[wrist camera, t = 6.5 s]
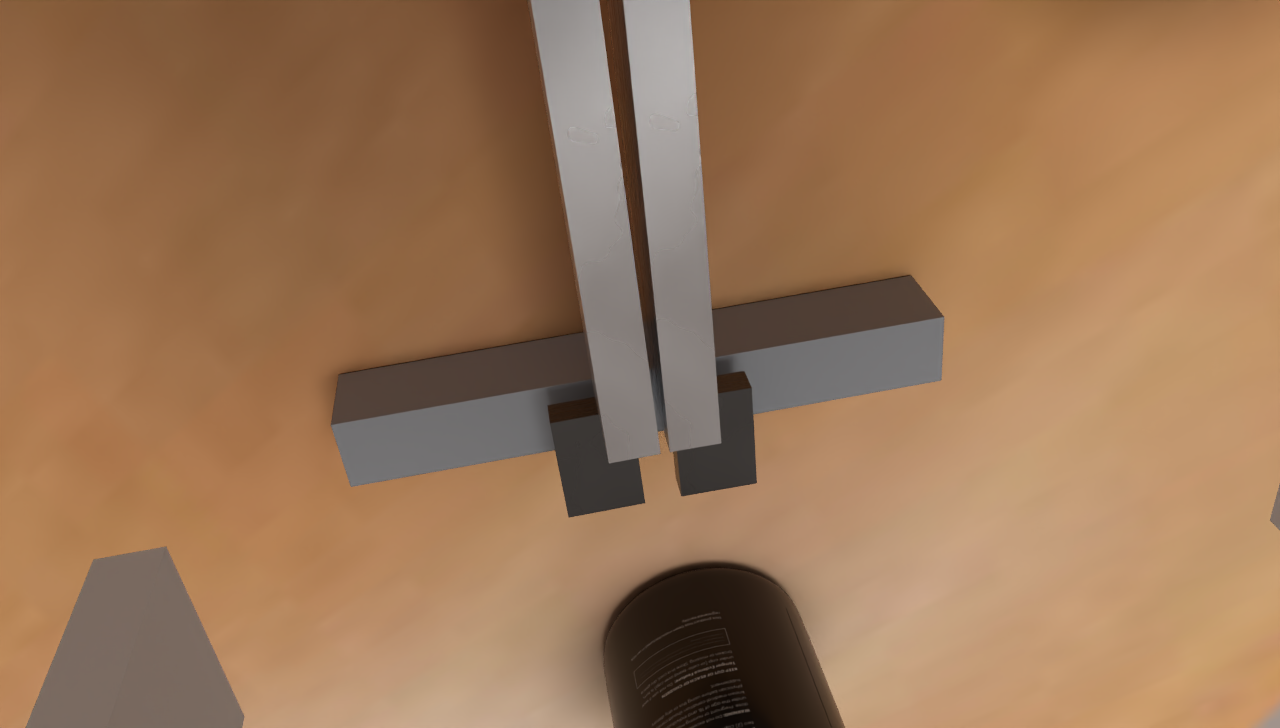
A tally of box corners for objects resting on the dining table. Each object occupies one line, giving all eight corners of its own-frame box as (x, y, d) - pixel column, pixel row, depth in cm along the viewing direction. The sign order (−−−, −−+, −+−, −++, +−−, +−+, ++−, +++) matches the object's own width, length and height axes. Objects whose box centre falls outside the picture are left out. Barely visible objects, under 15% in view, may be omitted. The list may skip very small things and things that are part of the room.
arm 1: (394, -362, 19) (385, -370, 16) (532, -381, 19) (545, -393, 16) (564, 493, 29) (576, 570, 26) (653, 476, 29) (674, 551, 27)
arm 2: (563, -385, 19) (582, -397, 16) (700, -401, 19) (738, -414, 17) (659, 475, 29) (679, 550, 27) (747, 460, 29) (775, 532, 27)
